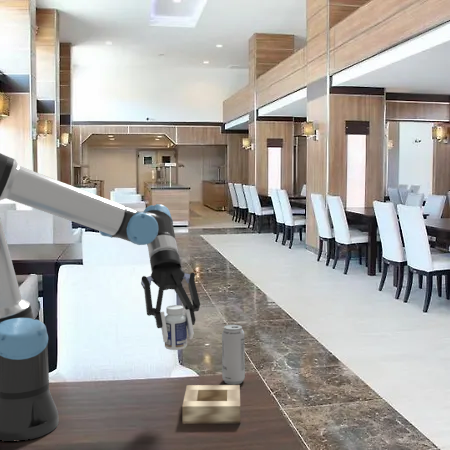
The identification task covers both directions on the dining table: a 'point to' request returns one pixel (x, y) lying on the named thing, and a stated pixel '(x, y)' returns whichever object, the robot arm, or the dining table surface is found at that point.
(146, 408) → the dining table surface
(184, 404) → the socket block
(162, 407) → the dining table surface
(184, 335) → the pill bottle
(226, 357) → the energy drink can
